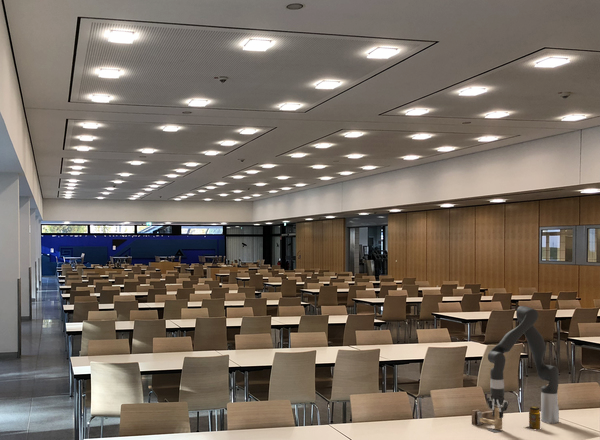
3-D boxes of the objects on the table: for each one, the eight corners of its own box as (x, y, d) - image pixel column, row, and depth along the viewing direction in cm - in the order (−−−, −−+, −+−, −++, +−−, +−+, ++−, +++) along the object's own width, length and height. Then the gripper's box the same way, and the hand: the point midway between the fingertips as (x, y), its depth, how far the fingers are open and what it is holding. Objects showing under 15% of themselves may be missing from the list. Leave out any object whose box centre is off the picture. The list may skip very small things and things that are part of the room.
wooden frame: (502, 428, 358) (502, 407, 359) (499, 429, 356) (499, 408, 357) (479, 423, 369) (479, 402, 370) (476, 424, 367) (476, 403, 367)
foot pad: (494, 428, 360) (494, 428, 360) (502, 431, 355) (502, 431, 355) (487, 430, 358) (487, 429, 358) (494, 432, 352) (494, 432, 352)
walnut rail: (494, 420, 378) (494, 406, 379) (497, 421, 376) (497, 407, 377) (471, 424, 370) (471, 410, 370) (474, 425, 368) (474, 411, 368)
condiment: (543, 428, 362) (543, 407, 362) (534, 431, 357) (534, 409, 357) (532, 425, 368) (532, 404, 368) (523, 427, 363) (523, 406, 364)
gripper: (511, 387, 356) (512, 418, 355) (490, 383, 367) (491, 413, 366) (503, 389, 351) (504, 421, 351) (482, 385, 362) (483, 415, 362)
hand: (498, 417), depth 358 cm, fingers closed on wooden frame, 3 cm apart
